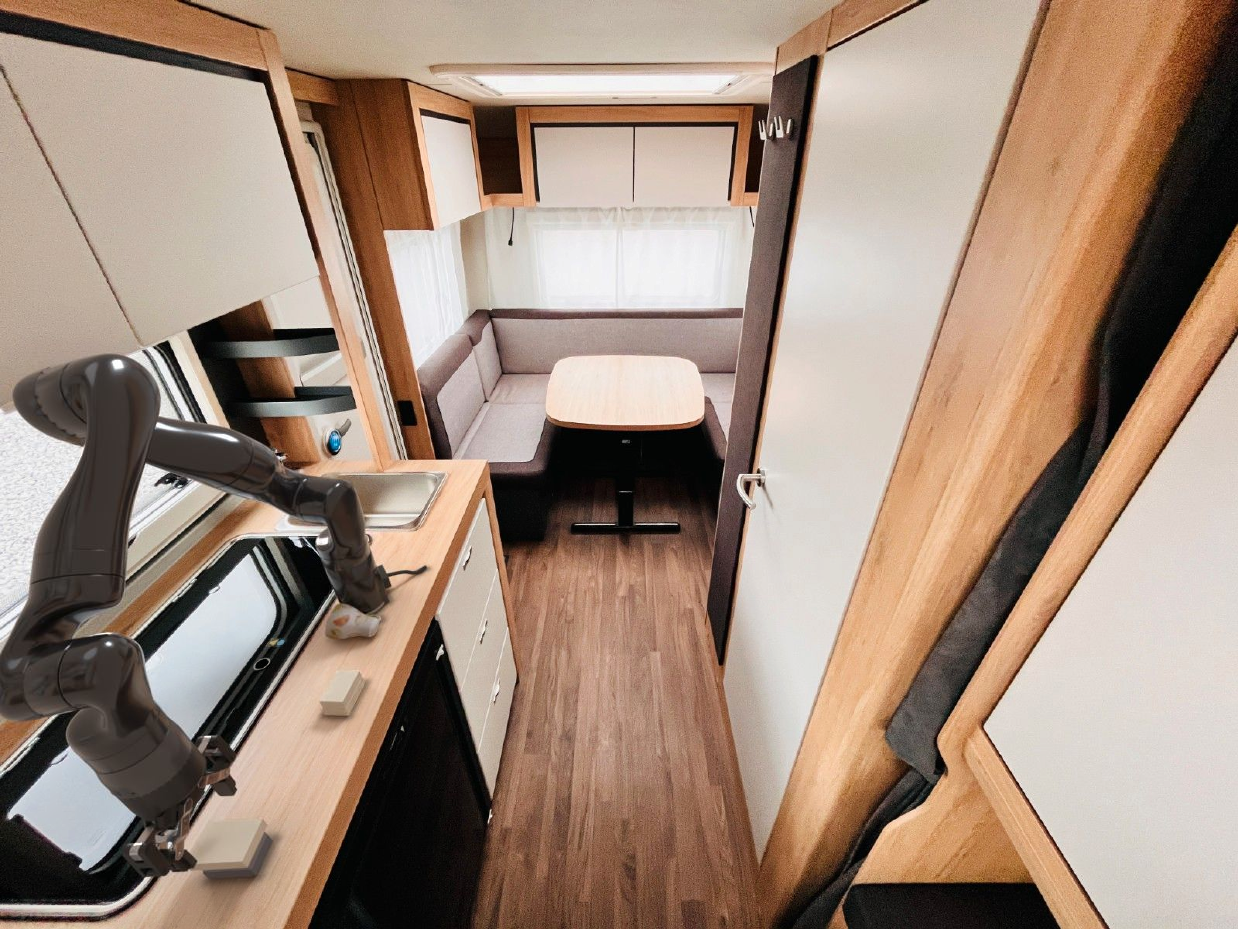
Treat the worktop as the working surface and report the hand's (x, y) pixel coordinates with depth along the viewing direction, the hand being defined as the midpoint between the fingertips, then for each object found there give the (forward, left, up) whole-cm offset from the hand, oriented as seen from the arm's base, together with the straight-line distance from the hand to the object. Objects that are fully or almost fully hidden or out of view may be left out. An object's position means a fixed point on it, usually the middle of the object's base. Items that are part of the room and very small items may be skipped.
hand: (209, 827), depth 68 cm
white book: (0, 0, -6) cm, 6 cm away
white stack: (-18, -18, -10) cm, 28 cm away
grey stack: (0, 0, -10) cm, 10 cm away
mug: (-24, -33, -10) cm, 42 cm away
